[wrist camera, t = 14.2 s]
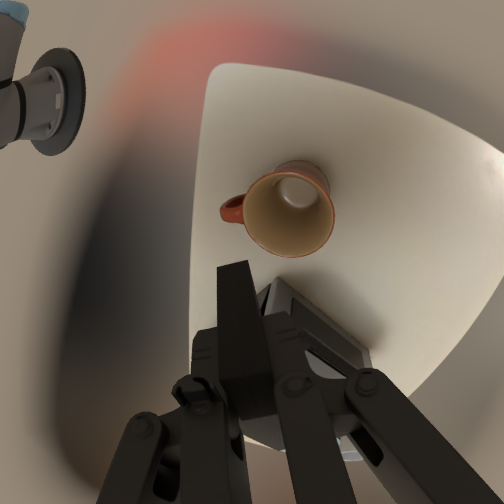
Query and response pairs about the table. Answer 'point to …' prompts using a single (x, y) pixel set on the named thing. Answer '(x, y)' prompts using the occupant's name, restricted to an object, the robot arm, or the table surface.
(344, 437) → the cup
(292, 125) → the table surface
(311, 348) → the door
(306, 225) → the mug
